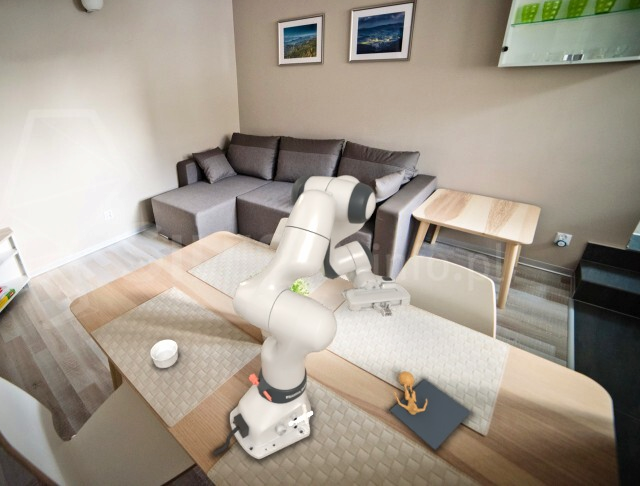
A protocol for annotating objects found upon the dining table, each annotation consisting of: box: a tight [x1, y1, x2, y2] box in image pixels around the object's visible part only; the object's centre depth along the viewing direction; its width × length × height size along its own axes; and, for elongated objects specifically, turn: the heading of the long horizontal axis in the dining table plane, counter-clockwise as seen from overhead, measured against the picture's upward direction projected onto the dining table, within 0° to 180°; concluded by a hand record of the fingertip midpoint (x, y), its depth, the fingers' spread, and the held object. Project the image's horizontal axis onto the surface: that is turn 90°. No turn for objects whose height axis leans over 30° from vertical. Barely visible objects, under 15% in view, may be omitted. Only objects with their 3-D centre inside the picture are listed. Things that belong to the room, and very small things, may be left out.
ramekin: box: [149, 339, 179, 369], centre depth 108 cm, size 9×9×4 cm
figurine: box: [393, 371, 427, 415], centre depth 89 cm, size 8×6×12 cm
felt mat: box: [389, 379, 471, 451], centre depth 86 cm, size 16×12×1 cm
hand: (388, 314), depth 101 cm, fingers closed
